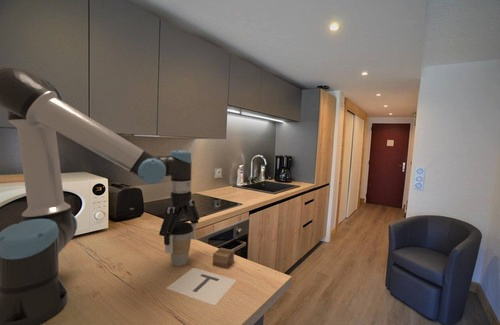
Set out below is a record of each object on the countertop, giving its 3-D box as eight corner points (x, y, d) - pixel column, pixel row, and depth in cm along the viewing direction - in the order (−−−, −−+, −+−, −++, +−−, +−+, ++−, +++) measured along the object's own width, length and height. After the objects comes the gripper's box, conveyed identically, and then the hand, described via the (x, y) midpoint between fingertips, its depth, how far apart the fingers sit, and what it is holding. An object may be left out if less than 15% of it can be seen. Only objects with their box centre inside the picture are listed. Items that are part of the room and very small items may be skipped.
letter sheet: (214, 306, 66) (214, 305, 66) (166, 289, 73) (166, 288, 73) (236, 280, 79) (236, 280, 79) (193, 268, 86) (193, 267, 86)
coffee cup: (166, 270, 84) (166, 230, 83) (168, 258, 93) (168, 221, 92) (192, 267, 87) (193, 228, 86) (192, 256, 96) (192, 220, 95)
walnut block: (226, 270, 86) (226, 257, 86) (212, 266, 89) (213, 253, 88) (233, 262, 92) (234, 250, 91) (220, 259, 94) (220, 247, 94)
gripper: (164, 199, 75) (165, 262, 77) (207, 186, 98) (207, 235, 100) (147, 196, 78) (148, 257, 80) (193, 185, 101) (193, 232, 103)
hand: (181, 245), depth 90 cm, fingers open, 13 cm apart
